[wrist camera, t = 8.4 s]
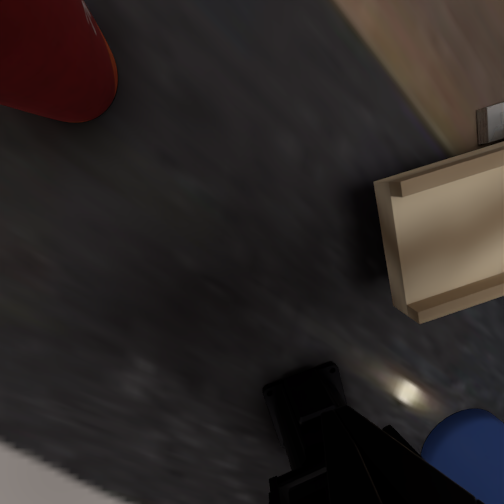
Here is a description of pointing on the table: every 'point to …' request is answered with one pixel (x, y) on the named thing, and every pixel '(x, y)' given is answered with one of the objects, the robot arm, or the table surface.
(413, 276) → the oak beam
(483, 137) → the pivot stand
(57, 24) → the paper cup
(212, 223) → the table surface
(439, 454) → the water bottle
